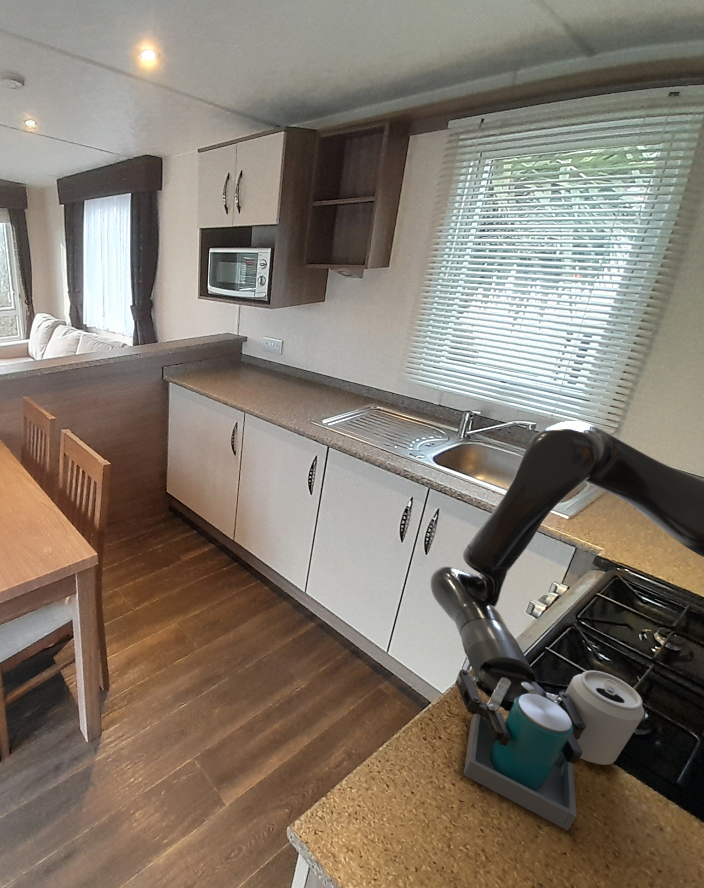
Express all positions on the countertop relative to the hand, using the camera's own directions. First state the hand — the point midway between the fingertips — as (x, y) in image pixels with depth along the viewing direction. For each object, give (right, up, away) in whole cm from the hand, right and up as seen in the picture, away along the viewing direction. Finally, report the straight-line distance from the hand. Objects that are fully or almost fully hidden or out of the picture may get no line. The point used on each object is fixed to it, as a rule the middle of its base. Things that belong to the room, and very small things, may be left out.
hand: (539, 750), depth 64 cm
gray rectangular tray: (+1, -6, +5) cm, 8 cm away
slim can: (+1, -6, +5) cm, 8 cm away
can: (+14, -5, +9) cm, 17 cm away
